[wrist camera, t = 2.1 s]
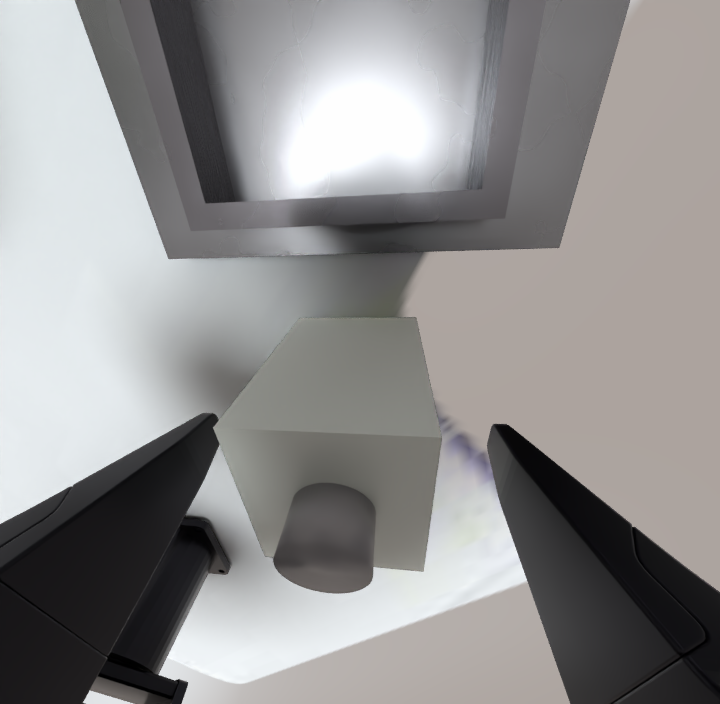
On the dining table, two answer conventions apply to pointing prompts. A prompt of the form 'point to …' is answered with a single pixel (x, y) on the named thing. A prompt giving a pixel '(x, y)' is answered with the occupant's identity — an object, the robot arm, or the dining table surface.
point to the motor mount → (355, 119)
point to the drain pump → (338, 451)
